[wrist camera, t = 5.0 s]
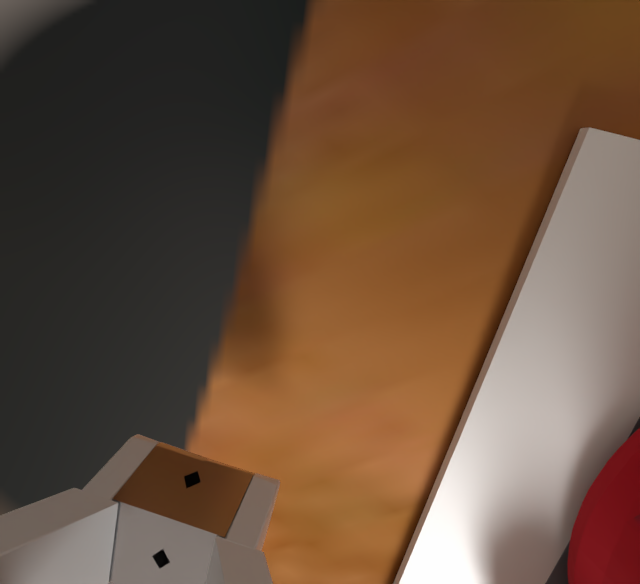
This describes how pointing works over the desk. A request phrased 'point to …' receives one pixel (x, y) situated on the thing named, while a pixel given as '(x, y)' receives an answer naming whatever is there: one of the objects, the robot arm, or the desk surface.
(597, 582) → the alarm clock
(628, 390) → the panel
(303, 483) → the desk surface
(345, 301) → the desk surface
